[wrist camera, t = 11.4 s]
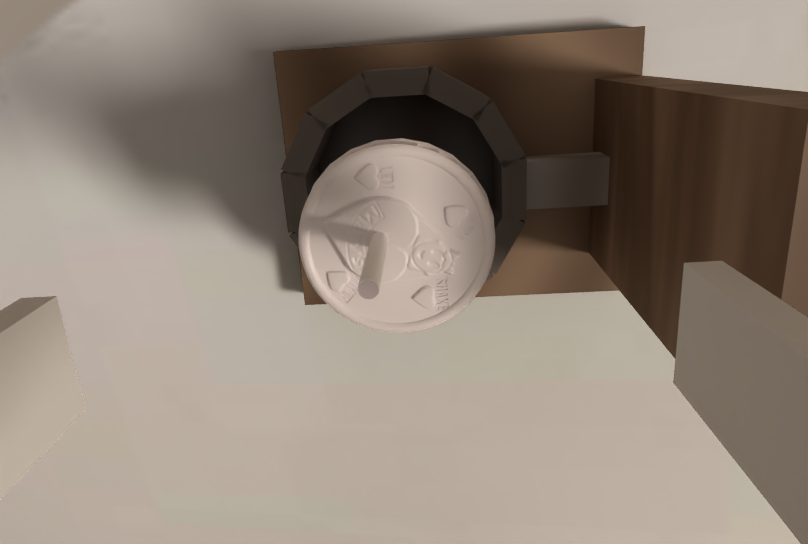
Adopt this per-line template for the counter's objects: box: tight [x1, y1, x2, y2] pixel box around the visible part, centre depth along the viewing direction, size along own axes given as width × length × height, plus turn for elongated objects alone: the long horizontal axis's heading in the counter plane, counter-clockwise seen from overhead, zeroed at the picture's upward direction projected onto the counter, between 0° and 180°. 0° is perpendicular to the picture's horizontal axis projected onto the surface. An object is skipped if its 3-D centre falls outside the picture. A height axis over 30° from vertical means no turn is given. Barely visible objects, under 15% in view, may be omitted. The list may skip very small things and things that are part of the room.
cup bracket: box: [273, 26, 808, 358], centre depth 22 cm, size 16×12×18 cm
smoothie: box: [299, 138, 495, 333], centre depth 22 cm, size 6×6×14 cm
